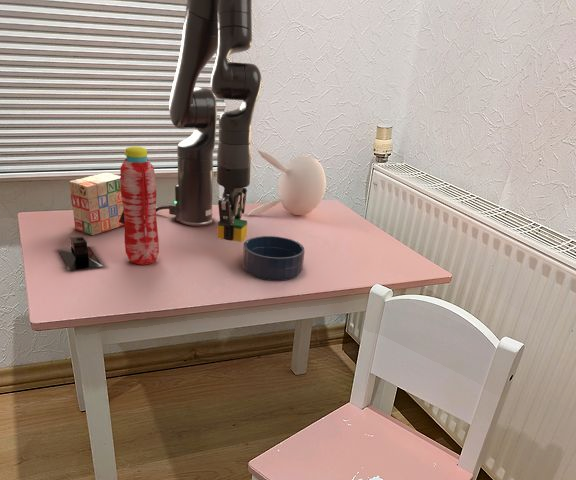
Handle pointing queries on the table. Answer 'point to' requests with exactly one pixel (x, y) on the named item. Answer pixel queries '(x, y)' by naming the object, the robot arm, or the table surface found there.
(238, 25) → the robot arm
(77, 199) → the stack of blocks
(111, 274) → the table surface
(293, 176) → the stuffed toy
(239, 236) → the sponge
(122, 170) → the water bottle
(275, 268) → the bowl
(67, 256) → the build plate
